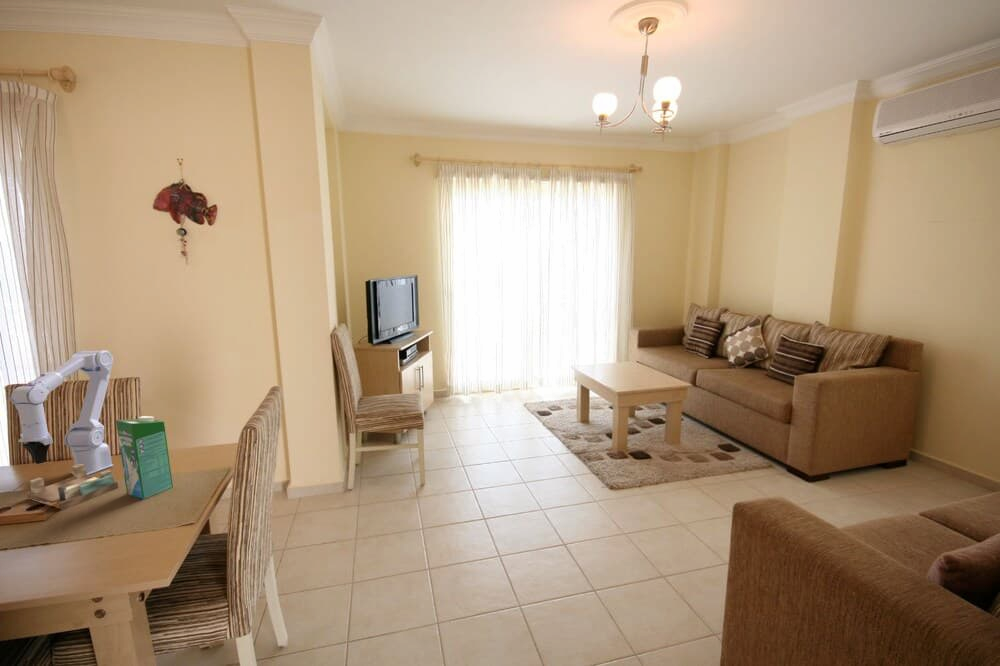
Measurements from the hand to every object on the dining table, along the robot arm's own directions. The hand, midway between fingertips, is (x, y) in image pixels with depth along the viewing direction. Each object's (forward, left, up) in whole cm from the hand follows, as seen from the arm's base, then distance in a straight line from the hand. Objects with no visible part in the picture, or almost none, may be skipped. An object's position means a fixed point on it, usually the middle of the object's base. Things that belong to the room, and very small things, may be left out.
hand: (40, 462), depth 149 cm
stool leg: (-2, +17, -8) cm, 19 cm away
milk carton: (-13, +32, -11) cm, 36 cm away
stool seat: (-3, +10, -10) cm, 14 cm away
